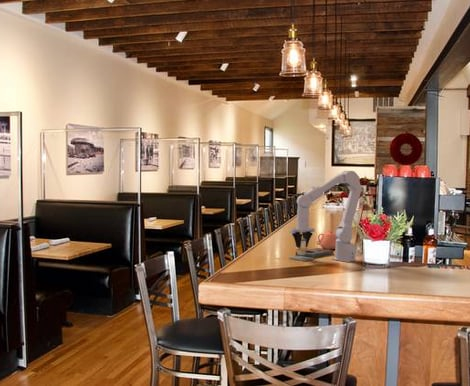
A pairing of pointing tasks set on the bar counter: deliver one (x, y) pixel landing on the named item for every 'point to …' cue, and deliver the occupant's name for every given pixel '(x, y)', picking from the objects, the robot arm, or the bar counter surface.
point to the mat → (301, 258)
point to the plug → (302, 247)
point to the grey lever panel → (316, 252)
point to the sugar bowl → (327, 240)
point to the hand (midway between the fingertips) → (301, 247)
